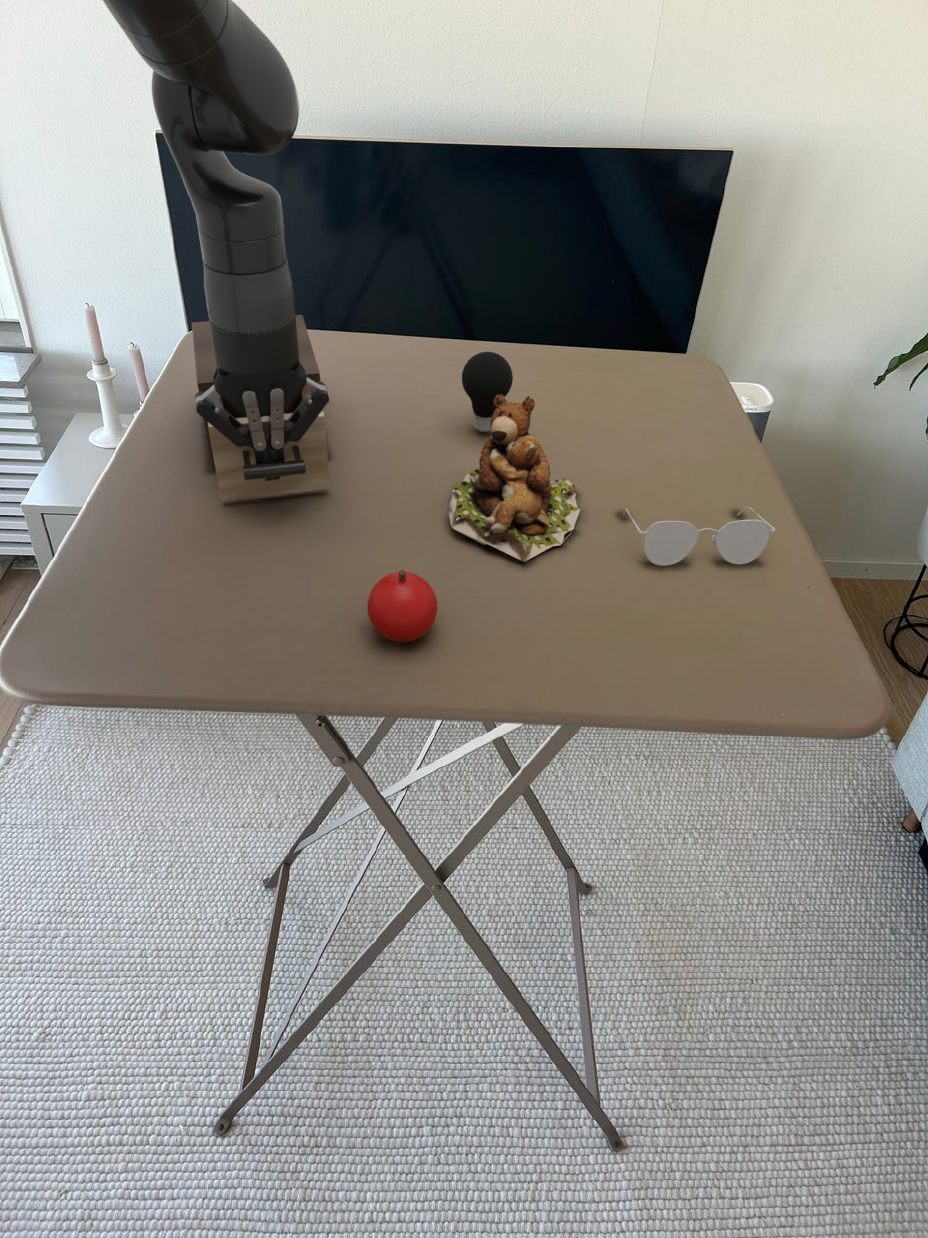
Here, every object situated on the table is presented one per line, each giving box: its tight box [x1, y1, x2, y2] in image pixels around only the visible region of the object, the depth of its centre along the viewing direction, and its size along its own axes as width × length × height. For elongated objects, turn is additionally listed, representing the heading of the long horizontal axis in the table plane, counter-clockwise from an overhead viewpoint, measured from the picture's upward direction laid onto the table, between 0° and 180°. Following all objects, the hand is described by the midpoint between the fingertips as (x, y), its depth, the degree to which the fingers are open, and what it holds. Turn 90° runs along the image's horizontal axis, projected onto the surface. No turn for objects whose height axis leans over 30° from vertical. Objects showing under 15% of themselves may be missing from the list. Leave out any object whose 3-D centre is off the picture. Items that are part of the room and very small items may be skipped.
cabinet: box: [191, 314, 321, 471], centre depth 101 cm, size 15×13×11 cm
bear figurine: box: [447, 394, 581, 563], centre depth 90 cm, size 14×15×12 cm
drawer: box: [208, 389, 331, 502], centre depth 94 cm, size 18×11×9 cm, turn 15°
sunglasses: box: [622, 506, 776, 567], centre depth 91 cm, size 14×8×5 cm, turn 95°
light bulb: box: [461, 351, 514, 434], centre depth 103 cm, size 6×6×10 cm
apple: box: [366, 569, 438, 643], centre depth 78 cm, size 6×6×7 cm
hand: (272, 475), depth 90 cm, fingers closed
